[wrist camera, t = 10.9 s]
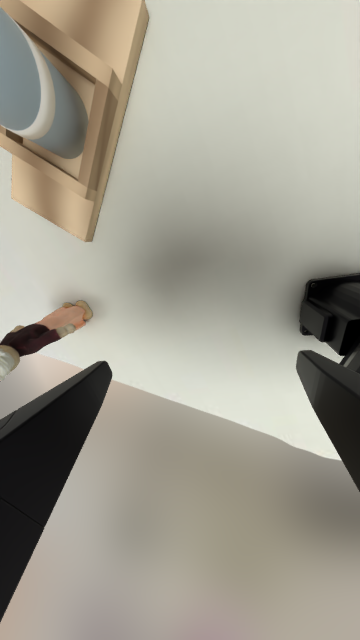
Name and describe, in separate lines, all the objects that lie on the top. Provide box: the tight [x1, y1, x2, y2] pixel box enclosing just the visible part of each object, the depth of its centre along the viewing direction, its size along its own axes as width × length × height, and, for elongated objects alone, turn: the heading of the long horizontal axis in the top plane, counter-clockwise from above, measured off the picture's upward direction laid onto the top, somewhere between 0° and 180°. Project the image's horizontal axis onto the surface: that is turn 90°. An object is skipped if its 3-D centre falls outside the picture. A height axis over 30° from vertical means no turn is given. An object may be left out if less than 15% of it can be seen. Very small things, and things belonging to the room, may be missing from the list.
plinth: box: [0, 0, 149, 242], centre depth 14 cm, size 8×16×3 cm, turn 151°
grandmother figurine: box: [0, 301, 93, 382], centre depth 18 cm, size 8×4×13 cm, turn 110°
